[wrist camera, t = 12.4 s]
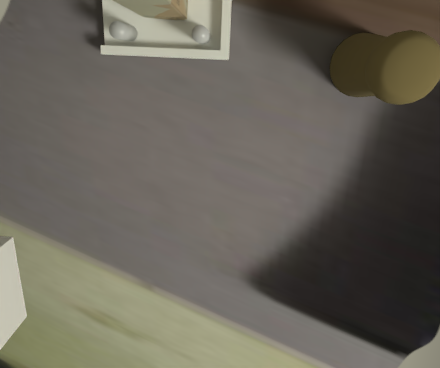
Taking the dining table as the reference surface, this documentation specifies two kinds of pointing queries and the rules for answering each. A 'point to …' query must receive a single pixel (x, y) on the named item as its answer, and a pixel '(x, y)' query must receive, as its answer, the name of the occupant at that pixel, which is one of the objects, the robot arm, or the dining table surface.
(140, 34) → the tray
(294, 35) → the dining table surface
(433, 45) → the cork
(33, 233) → the dining table surface
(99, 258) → the dining table surface
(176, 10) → the box
